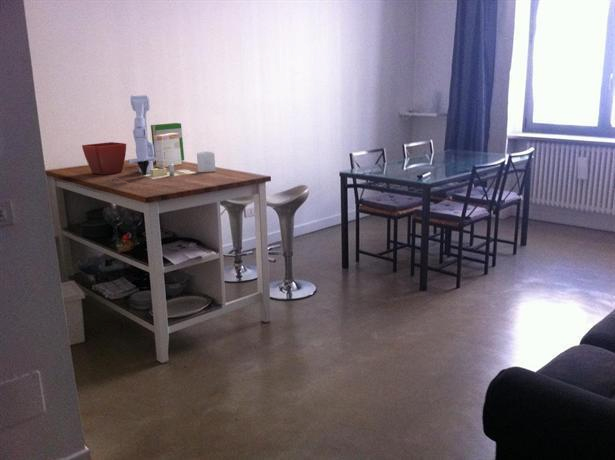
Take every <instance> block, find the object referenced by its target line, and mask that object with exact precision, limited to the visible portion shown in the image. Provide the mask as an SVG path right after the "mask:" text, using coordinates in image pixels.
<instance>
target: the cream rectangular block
mask: <svg viewBox="0 0 615 460" xmlns="http://www.w3.org/2000/svg"><path fill="white" fill-rule="evenodd" d="M167 168H168V167H156V168H155V167H154V168H153V169H150V173H149V174H150V175H151V176H161V175H167V172H168V169H167Z"/></svg>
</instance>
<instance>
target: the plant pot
mask: <svg viewBox="0 0 615 460" xmlns="http://www.w3.org/2000/svg"><path fill="white" fill-rule="evenodd" d="M81 148H82V151H83V154H84V157H85V160H86V163H87V164H88V167H89V169H90V171H91V173H93V174H97V175H100V176H101V175H102V176H104V175H110V174H116V173H117V174H118V173H122V171H123V169H124V165H125V160H126V153H127V143H123V142H115V141H110V142H101V143H91V144H90V143H89V144H82V145H81Z"/></svg>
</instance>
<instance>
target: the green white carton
mask: <svg viewBox="0 0 615 460" xmlns="http://www.w3.org/2000/svg"><path fill="white" fill-rule="evenodd" d="M150 131H151V132H150V133H151V142H152V143H153V146H154V157H156V154H155V145H154V135H161V134H168V133H179V141H180V151H181V161H185V152H184V142H183V141H184V140H183V130H182V123H181V122H180V123H179V122H173V123H172V122H171V123H162V124H160V123H159V124H150ZM153 163H156V161H153Z"/></svg>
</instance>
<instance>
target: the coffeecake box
mask: <svg viewBox="0 0 615 460" xmlns="http://www.w3.org/2000/svg"><path fill="white" fill-rule="evenodd" d="M154 145H155V154H156V162H155V163H156V168H159V167H164V168H169V166H168V165H169V164H174V166H178V165H182V161H181V151H180V141H179V133H168V134H161V135H154Z"/></svg>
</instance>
